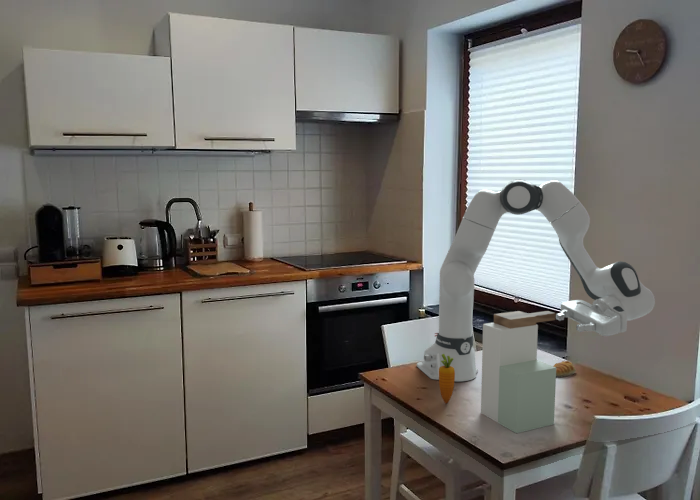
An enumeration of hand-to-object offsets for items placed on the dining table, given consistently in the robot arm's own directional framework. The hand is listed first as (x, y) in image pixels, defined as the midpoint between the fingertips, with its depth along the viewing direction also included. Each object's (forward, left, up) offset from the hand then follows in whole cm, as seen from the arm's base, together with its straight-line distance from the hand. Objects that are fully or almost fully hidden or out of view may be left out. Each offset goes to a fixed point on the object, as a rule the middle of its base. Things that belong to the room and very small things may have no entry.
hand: (567, 323), depth 178 cm
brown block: (+1, -17, +2) cm, 17 cm away
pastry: (-18, +17, -24) cm, 35 cm away
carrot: (-12, -34, -24) cm, 43 cm away
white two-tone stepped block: (+5, -23, -24) cm, 33 cm away
